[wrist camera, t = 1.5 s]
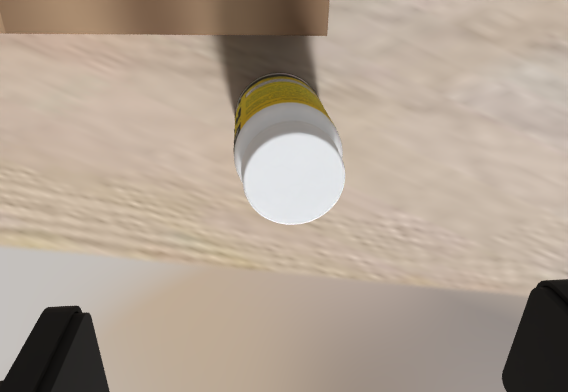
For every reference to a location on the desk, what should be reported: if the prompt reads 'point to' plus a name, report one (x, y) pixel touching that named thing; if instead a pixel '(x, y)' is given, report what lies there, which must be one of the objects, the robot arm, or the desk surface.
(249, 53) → the desk surface
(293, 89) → the supplement bottle
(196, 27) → the wooden tray
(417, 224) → the desk surface
